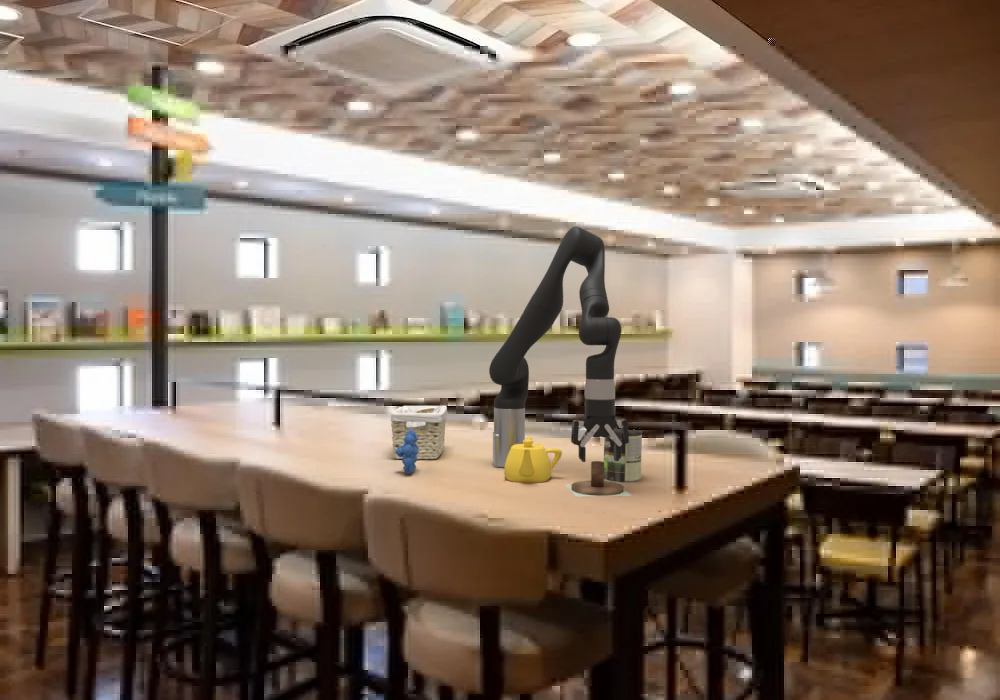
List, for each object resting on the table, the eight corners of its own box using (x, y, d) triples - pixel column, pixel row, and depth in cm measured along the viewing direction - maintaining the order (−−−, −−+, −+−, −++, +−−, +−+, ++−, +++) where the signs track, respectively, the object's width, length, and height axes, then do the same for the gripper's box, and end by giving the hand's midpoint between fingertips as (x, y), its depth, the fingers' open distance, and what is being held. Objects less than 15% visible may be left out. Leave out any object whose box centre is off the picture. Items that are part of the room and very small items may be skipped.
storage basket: (400, 447, 257) (400, 404, 256) (448, 448, 257) (448, 404, 256) (389, 460, 233) (389, 412, 232) (442, 461, 233) (442, 413, 232)
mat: (575, 499, 184) (575, 496, 184) (564, 486, 198) (564, 484, 198) (632, 498, 185) (632, 495, 185) (617, 485, 199) (617, 483, 199)
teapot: (561, 489, 194) (562, 447, 194) (501, 488, 196) (501, 446, 195) (561, 472, 216) (561, 434, 216) (506, 471, 217) (507, 433, 217)
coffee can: (605, 484, 200) (605, 431, 200) (601, 476, 211) (601, 426, 210) (644, 485, 200) (645, 432, 200) (638, 477, 210) (639, 426, 210)
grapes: (398, 468, 220) (398, 427, 220) (422, 468, 220) (422, 427, 219) (391, 476, 209) (391, 433, 208) (415, 477, 208) (415, 433, 208)
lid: (577, 496, 184) (577, 467, 184) (566, 484, 197) (567, 457, 197) (629, 495, 186) (630, 466, 185) (615, 484, 199) (616, 457, 198)
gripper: (575, 398, 186) (575, 464, 187) (631, 397, 188) (631, 463, 188) (568, 395, 194) (569, 459, 194) (623, 395, 195) (623, 457, 196)
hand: (599, 461), depth 191 cm, fingers open, 8 cm apart
